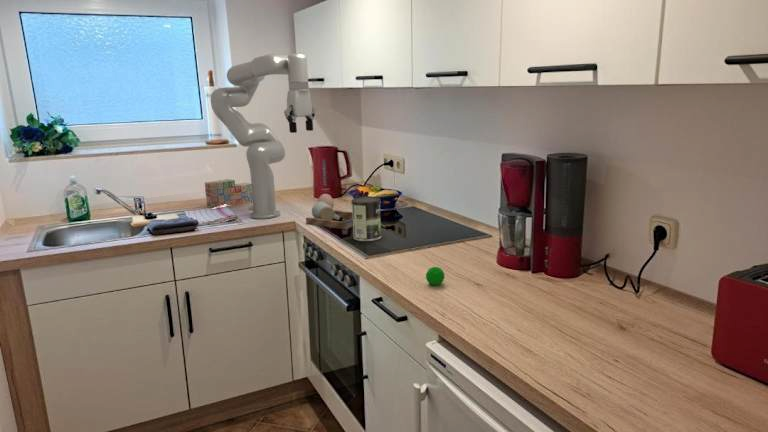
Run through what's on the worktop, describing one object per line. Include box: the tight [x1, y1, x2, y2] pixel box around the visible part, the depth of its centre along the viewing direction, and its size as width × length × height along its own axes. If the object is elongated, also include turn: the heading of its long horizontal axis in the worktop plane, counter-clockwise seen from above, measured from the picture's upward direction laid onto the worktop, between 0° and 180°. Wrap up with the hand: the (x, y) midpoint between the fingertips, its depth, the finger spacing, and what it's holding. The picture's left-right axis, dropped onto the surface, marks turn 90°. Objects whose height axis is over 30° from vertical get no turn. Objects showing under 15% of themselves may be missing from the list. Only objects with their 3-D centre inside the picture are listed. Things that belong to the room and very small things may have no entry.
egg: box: [317, 193, 335, 209], centre depth 239 cm, size 7×7×8 cm
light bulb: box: [311, 201, 341, 221], centre depth 224 cm, size 11×8×8 cm
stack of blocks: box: [204, 178, 253, 209], centre depth 262 cm, size 21×6×12 cm, turn 132°
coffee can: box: [350, 196, 382, 242], centre depth 196 cm, size 10×10×14 cm
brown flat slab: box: [305, 209, 353, 230], centre depth 222 cm, size 20×16×3 cm
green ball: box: [425, 266, 445, 286], centre depth 149 cm, size 5×5×5 cm
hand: (301, 131), depth 216 cm, fingers open, 9 cm apart
